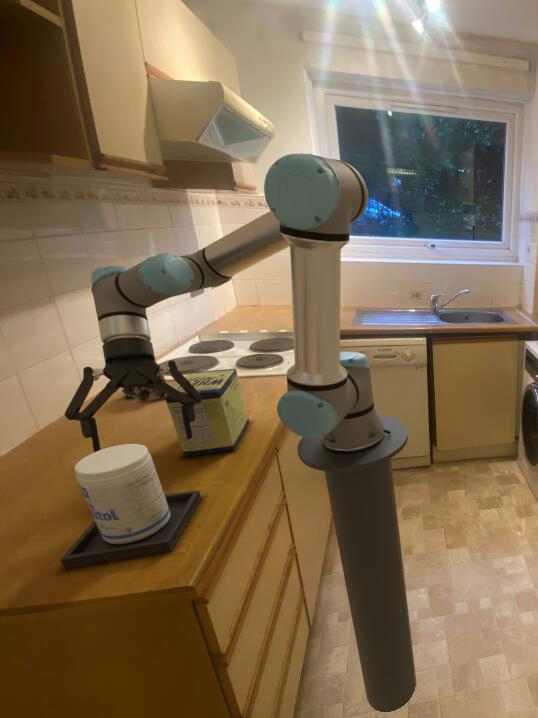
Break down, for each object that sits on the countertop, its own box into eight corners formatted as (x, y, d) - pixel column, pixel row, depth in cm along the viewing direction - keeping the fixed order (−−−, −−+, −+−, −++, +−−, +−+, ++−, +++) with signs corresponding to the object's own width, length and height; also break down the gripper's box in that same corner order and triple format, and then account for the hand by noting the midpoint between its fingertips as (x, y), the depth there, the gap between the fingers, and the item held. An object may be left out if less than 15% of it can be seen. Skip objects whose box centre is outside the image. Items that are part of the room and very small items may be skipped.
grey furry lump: (181, 371, 139) (158, 360, 125) (180, 404, 138) (157, 397, 123) (137, 373, 136) (108, 362, 122) (136, 407, 134) (107, 400, 120)
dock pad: (201, 498, 86) (199, 489, 85) (171, 551, 73) (167, 541, 72) (113, 511, 82) (109, 502, 81) (65, 569, 69) (60, 559, 68)
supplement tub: (88, 545, 73) (53, 472, 67) (136, 508, 82) (108, 441, 76) (143, 548, 73) (113, 475, 67) (185, 511, 82) (161, 443, 76)
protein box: (250, 421, 116) (236, 367, 110) (235, 451, 102) (218, 391, 96) (205, 427, 113) (188, 371, 107) (183, 458, 99) (163, 396, 93)
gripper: (201, 345, 97) (220, 435, 94) (40, 354, 81) (56, 464, 78) (204, 332, 92) (224, 427, 89) (31, 339, 75) (49, 457, 72)
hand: (146, 445), depth 83 cm, fingers open, 13 cm apart
